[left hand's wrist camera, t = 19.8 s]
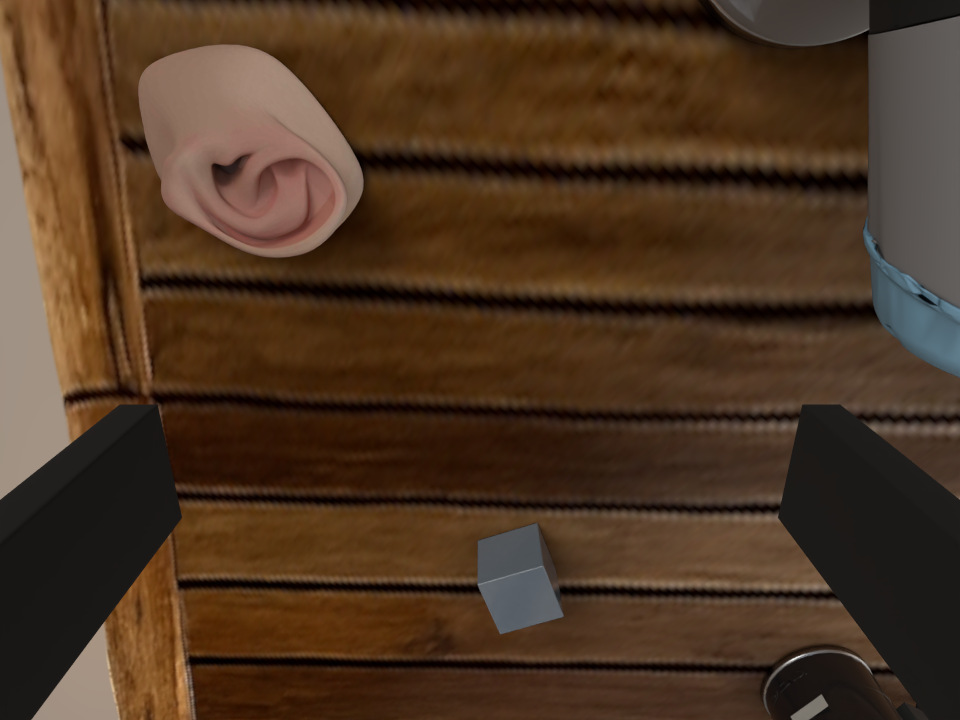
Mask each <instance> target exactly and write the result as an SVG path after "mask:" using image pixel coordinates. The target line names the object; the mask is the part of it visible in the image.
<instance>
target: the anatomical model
mask: <svg viewBox="0 0 960 720" xmlns="http://www.w3.org/2000/svg"><path fill="white" fill-rule="evenodd" d="M138 94H139V105H140V111H141V116H142V121H143V126H144V131H145V136H146V141H147V144H148V147H149V151H150V154H151V156H152V159H153V162H154V165H155V168H156V170H157V173H158V175H159V177H160V179H161V181H162V183H161V193H162V197H163V200H164V202H165V203H166V205H167V206H168V207H169V208H170V209H171V210H172V211H173V212H175V213H176V214H178V215H179V216H181V217H182V218H184V219H186V220H188V221H190V222H191V223H193V224H195V225H197V226H198V227H200V228H202V229H204V230H205V231H207V232H209V233H210V234H212V235H214V236H215V237H217V238H219V239H220V240H222V241H224V242H226V243H228V244H230V245H231V246H233V247H235V248H238V249H240V250H242V251H245V252H247V253H250V254H254V255H258V256H263V257H273V258H279V257H290V256H296V255H301V254H304V253H307V252H309V251H311V250H313V249H315V248H316V247H318V246H319V245H321V244H322V243H323V242H324V241H326V240H327V239H328V238H329V237H330V236H331V235H332V234H333V232H334V231H335V230H336V229H337V228H338V227H339V226H340V225H341V224H342V223H343V222H344V221H345V220H346V218H347V217H348V216H349V215H350V213H351V212H352V211H353V209H354V208H355V206H356V205H357V203H358V201H359V199H360V197H361V195H362V191H363V182H364V180H363V174H362V170H361V167H360V165H359V162H358V160H357V159H356V157H355V155H354V153H353V151H352V149H351V147H350V146H349V144H348V143H347V141H346V140H345V138H344V137H343V135H342V134H341V132H340V131H339V129H338V128H337V126H336V125H335V123H334V122H333V121H332V119H331V118H330V117H329V115H328V114H327V113H326V111H325V110H324V109H323V108H322V106H321V105H320V104H319V103H318V101H317V100H316V99H315V98H314V96H313V95H312V94H311V93H310V92H309V90H308V89H307V88H306V87H305V86H304V85H303V84H302V82H301V81H300V80H299V79H298V78H297V77H296V76H295V75H294V74H293V73H292V72H291V71H290V70H289V69H288V68H286V67H285V66H284V65H283V64H282V63H281V62H279V61H278V60H277V59H275V58H274V57H272V56H270V55H269V54H267V53H265V52H263V51H260V50H258V49H255V48H251V47H248V46H241V45H212V46H204V47H199V48H194V49H189V50H186V51H182V52H179V53H175V54H172V55H169V56H167V57H164V58H162V59H159V60H158V61H156V62H154V63H152V64H151V65H150V66H148V67H147V68H146V69H145V71H144V72H143V74H142V76H141V78H140V81H139V91H138Z"/></svg>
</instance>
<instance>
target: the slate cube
mask: <svg viewBox="0 0 960 720" xmlns="http://www.w3.org/2000/svg"><path fill="white" fill-rule="evenodd" d="M478 587H479V589H480V591H481V594H482V596H483V598H484V600H485V602H486V604H487V607H488V609H489V611H490V613H491V615H492V617H493V620H494V622H495V624H496V626H497V628H498V630H499V633H500V634H504V633H507V632H511V631H514V630H518V629H522V628H525V627H529V626H532V625H536V624H540V623H543V622H547V621H550V620H554V619H558V618H561V617H564V614H563V608H562V602H561V596H560V590H559V584H558V578H557V572H556V569H555V566H554V564H553V561H552V559H551V556H550V553H549V551H548V548H547V546H546V543H545V541H544V538H543V536H542V533H541V531H540V528H539V526H538V524H537V523H535V524H532V525H529V526H525V527H522V528H519V529H515V530H512V531H508V532H505V533H502V534H498V535H495V536H492V537H488V538H485V539H482V540H479V541H478Z"/></svg>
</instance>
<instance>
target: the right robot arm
mask: <svg viewBox="0 0 960 720" xmlns="http://www.w3.org/2000/svg"><path fill="white" fill-rule="evenodd" d="M761 697H762V701H763V704H764V706H765V708H766V710H767V712H768V713H769V715H770V716H771V717H772V719H773V720H929V719H928V718H927V717H926V715H925V714H924V713H923V711H922V710H921V709H920V707H919V706H918V705H917V703H916V708H915V707H913V706H911V705H909V704H907V703H905V702H904V703H903V704H902V705H901V706H900V707H898V708H897V709H896V708H895V707H894V705H893V704H892V702H891V701H890V699H889V698H888V696H887V695H886V694H885V692H884V691H883V689H882V688H881V687H880V685H879V684H878V682H877V681H876V679H875V678H874V677H873V675H872V672H871V670H870V669H869V667H868V666H867V664H866V663H865V662H864V660H863V659H862V658H861V657H860V656H859V655H857V654H856V653H854V652H852V651H850V650H848V649H845V648H841V647H836V646H815V647H810V648H805V649H802V650H799V651H796V652H794V653H792V654H790V655H788V656H786V657H785V658H783V659H782V660H780V661H779V662H778V663H776V664H775V665H774V666H773V667H772V668H771V669H770V671H769V672H768V673H767V675H766V676H765V678H764V680H763V683H762V687H761Z"/></svg>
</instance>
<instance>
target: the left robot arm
mask: <svg viewBox="0 0 960 720" xmlns="http://www.w3.org/2000/svg"><path fill="white" fill-rule="evenodd" d="M700 1H701V3H702V4H703V5H704V7H705V8H706V9H707V10H708V11H709V12H710V14H711V15H712V16H713V17H714V18H715V19H716V20H717V21H719V22H720V23H721V24H722V25H723V26H725V27H726V28H727V29H729V30H730V31H731V32H733V33H735V34H737V35H738V36H740V37H742V38H744V39H747V40H749V41H751V42H754V43H757V44H760V45H764V46H768V47H774V48H784V49H797V48H808V47H814V46H819V45H824V44H829V43H833V42H837V41H841V40H844V39H847V38H850V37H853V36H855V35H858V34H861V33H863V32H865V31H867V30H869V34H870V35H868V102H869V140H868V216H867V218H866V222H865V226H864V228H863V238H864V244H865V246H866V249H867V251H868V253H869V255H870V265H871V283H872V299H873V304H874V308H875V312H876V314H877V316H878V318H879V320H880V322H881V323H882V325H883V327H884V328H885V329H886V330H887V331H888V332H889V333H890V334H892V335H893V336H894V337H895V338H897V339H898V340H899V341H900V343H901V344H902V346H903V347H904V348H906V349H907V350H908V351H909V352H911V353H912V354H914V355H915V356H917V357H919V358H920V359H922V360H924V361H926V362H927V363H929V364H931V365H933V366H935V367H937V368H939V369H941V370H943V371H945V372H948V373H950V374H952V375H955V376H957V377H960V0H700ZM871 33H873V34H871ZM181 518H182V516H181V511H180V506H179V502H178V497H177V492H176V488H175V483H174V479H173V474H172V469H171V465H170V460H169V455H168V451H167V446H166V442H165V437H164V432H163V428H162V423H161V418H160V414H159V409H158V405H119V406H118V407H116V408H115V409H114V410H113V411H111V412H110V413H109V414H108V415H106V416H105V417H104V418H102V419H101V420H100V421H99V422H97V423H96V424H95V425H94V426H92V427H91V428H90V429H89V430H87V431H86V432H85V433H84V434H82V435H81V436H80V437H79V438H77V439H76V440H75V441H74V442H72V443H71V444H70V445H69V446H67V447H66V448H65V449H64V450H62V451H61V452H60V453H59V454H57V455H56V456H55V457H53V458H52V459H51V460H50V461H48V462H47V463H46V464H45V465H44V466H42V467H41V468H40V469H38V470H37V471H36V472H35V473H33V474H32V475H31V476H30V477H28V478H27V479H26V480H25V481H23V482H22V483H21V484H20V485H18V486H17V487H16V488H15V489H13V490H12V491H11V492H10V493H8V494H7V495H6V496H5V497H3V498H2V499H1V500H0V720H31V719H32V718H33V717H34V715H35V714H36V713H37V711H38V710H39V709H40V707H41V706H42V705H43V703H44V702H45V701H46V699H47V698H48V697H49V695H50V694H51V692H52V691H53V690H54V688H55V687H56V686H57V684H58V683H59V682H60V680H61V679H62V678H63V676H64V675H65V674H66V672H67V671H68V670H69V668H70V667H71V666H72V664H73V663H74V662H75V660H76V659H77V658H78V656H79V655H80V654H81V652H82V651H83V650H84V648H85V647H86V646H87V644H88V643H89V642H90V640H91V639H92V638H93V636H94V635H95V634H96V632H97V631H98V629H99V628H100V627H101V626H102V624H103V623H104V622H105V620H106V619H107V617H108V616H109V615H110V613H111V612H112V611H113V609H114V608H115V607H116V605H117V604H118V603H119V601H120V600H121V599H122V597H123V596H124V595H125V593H126V592H127V591H128V589H129V588H130V587H131V585H132V584H133V583H134V581H135V580H136V579H137V577H138V576H139V575H140V573H141V572H142V571H143V569H144V568H145V567H146V565H147V564H148V563H149V561H150V560H151V558H152V557H153V556H154V554H155V553H156V552H157V550H158V549H159V548H160V546H161V545H162V544H163V542H164V541H165V540H166V538H167V537H168V536H169V534H170V533H171V532H172V530H173V529H174V528H175V526H176V525H177V524H178V522H179V521H180V520H181ZM778 518H779V520H780V521H781V522H782V524H783V525H784V526H785V528H786V529H787V530H788V532H789V533H790V534H791V536H792V537H793V538H794V540H795V541H796V542H797V544H798V545H799V546H800V548H801V549H802V550H803V552H804V553H805V554H806V556H807V557H808V558H809V560H810V561H811V563H812V564H813V565H814V567H815V568H816V569H817V571H818V572H819V573H820V575H821V576H822V577H823V579H824V580H825V581H826V583H827V584H828V585H829V587H830V588H831V589H832V591H833V592H834V593H835V595H836V596H837V597H838V599H839V600H840V601H841V603H842V604H843V605H844V607H845V608H846V609H847V611H848V612H849V613H850V615H851V616H852V617H853V619H854V620H855V622H856V623H857V624H858V626H859V627H860V628H861V630H862V631H863V632H864V634H865V635H866V636H867V638H868V639H869V640H870V642H871V643H872V644H873V646H874V647H875V648H876V650H877V651H878V652H879V654H880V655H881V656H882V658H883V659H884V660H885V662H886V663H887V664H888V666H889V667H890V668H891V670H892V671H893V672H894V674H895V675H896V676H897V678H898V679H899V681H900V682H901V683H902V685H903V686H904V687H905V689H906V690H907V691H908V693H909V694H910V695H911V697H912V698H913V699H914V701H915V702H916V703H917V705H918V706H919V707H920V709H921V710H922V711H923V713H924V714H925V715H926V717H927V718H928V719H929V720H960V500H959V499H958V498H957V497H955V496H954V495H953V494H952V493H950V492H949V491H948V490H947V489H945V488H944V487H943V486H942V485H940V484H939V483H938V482H937V481H935V480H934V479H933V478H932V477H930V476H929V475H928V474H927V473H925V472H924V471H923V470H922V469H920V468H919V467H918V466H917V465H915V464H914V463H913V462H912V461H910V460H909V459H908V458H907V457H905V456H904V455H903V454H901V453H900V452H899V451H898V450H896V449H895V448H894V447H893V446H891V445H890V444H889V443H888V442H886V441H885V440H884V439H883V438H881V437H880V436H879V435H878V434H876V433H875V432H874V431H873V430H871V429H870V428H869V427H868V426H866V425H865V424H864V423H863V422H861V421H860V420H859V419H858V418H856V417H855V416H854V415H852V414H851V413H850V412H849V411H847V410H846V409H845V408H844V407H842V406H841V405H802V409H801V414H800V418H799V423H798V428H797V432H796V437H795V442H794V446H793V451H792V455H791V460H790V465H789V469H788V474H787V479H786V483H785V488H784V492H783V497H782V502H781V506H780V511H779V516H778Z"/></svg>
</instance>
